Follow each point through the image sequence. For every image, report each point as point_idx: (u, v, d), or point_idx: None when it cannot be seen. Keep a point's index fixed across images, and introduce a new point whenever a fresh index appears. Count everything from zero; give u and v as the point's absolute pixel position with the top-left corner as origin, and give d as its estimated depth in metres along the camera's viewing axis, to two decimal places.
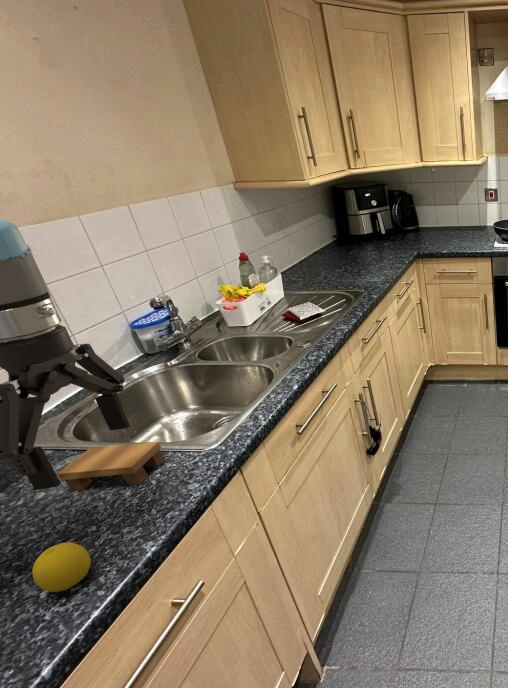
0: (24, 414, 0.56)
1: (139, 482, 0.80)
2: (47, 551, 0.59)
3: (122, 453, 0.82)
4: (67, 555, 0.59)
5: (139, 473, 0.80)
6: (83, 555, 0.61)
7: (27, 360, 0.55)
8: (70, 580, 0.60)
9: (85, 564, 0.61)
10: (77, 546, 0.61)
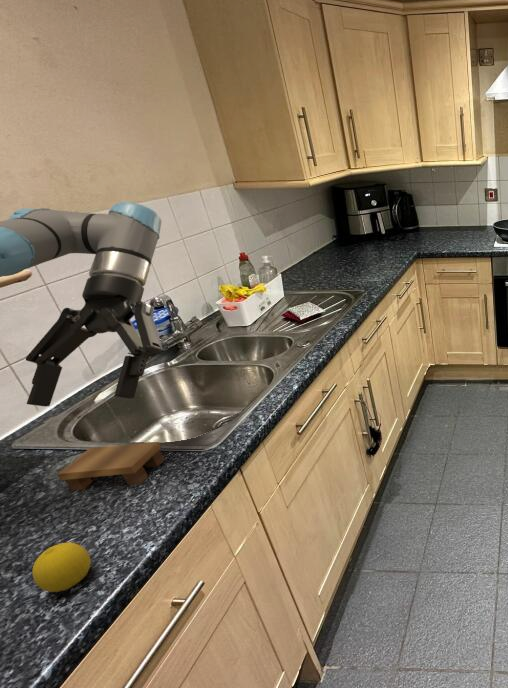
0: (132, 333, 0.70)
1: (139, 482, 0.80)
2: (47, 551, 0.59)
3: (122, 453, 0.82)
4: (67, 555, 0.59)
5: (139, 473, 0.80)
6: (83, 555, 0.61)
7: (140, 299, 0.74)
8: (70, 580, 0.60)
9: (85, 564, 0.61)
10: (77, 546, 0.61)
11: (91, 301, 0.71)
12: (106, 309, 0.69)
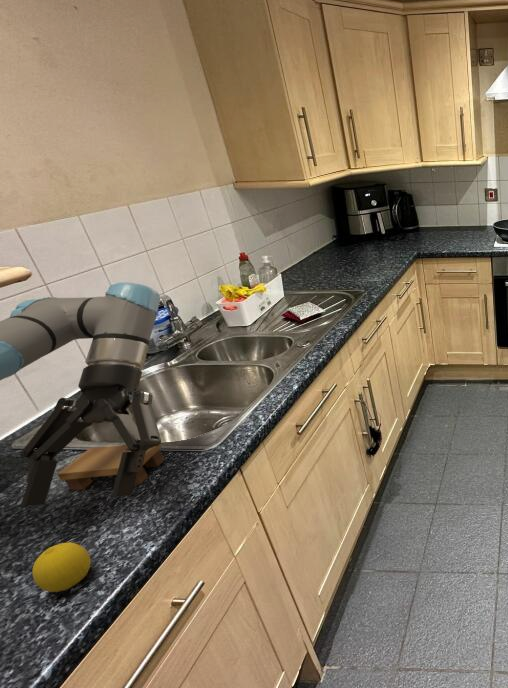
0: (130, 424, 0.68)
1: (139, 482, 0.80)
2: (47, 551, 0.59)
3: None
4: (67, 555, 0.59)
5: (139, 473, 0.80)
6: (83, 555, 0.61)
7: (138, 384, 0.72)
8: (70, 580, 0.60)
9: (85, 564, 0.61)
10: (77, 546, 0.61)
11: (88, 390, 0.69)
12: (103, 400, 0.67)
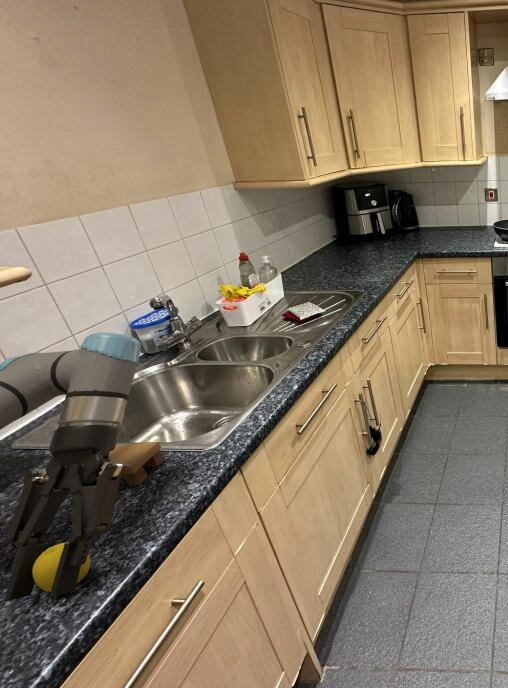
0: (89, 501, 0.62)
1: (139, 482, 0.80)
2: (47, 551, 0.59)
3: (122, 453, 0.82)
4: None
5: (139, 473, 0.80)
6: None
7: (115, 444, 0.67)
8: None
9: (85, 564, 0.61)
10: None
11: (59, 453, 0.64)
12: (75, 467, 0.62)
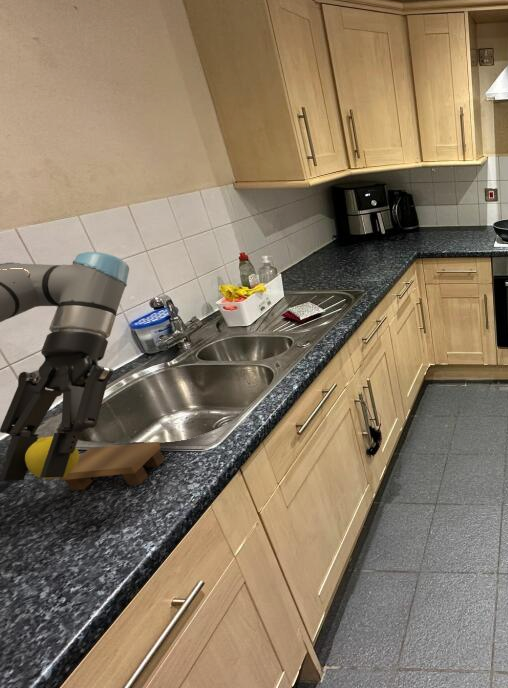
0: (78, 400, 0.67)
1: (139, 482, 0.80)
2: (38, 440, 0.64)
3: (122, 453, 0.82)
4: None
5: (139, 473, 0.80)
6: None
7: (103, 353, 0.72)
8: None
9: (74, 456, 0.66)
10: None
11: (51, 357, 0.69)
12: (65, 368, 0.67)
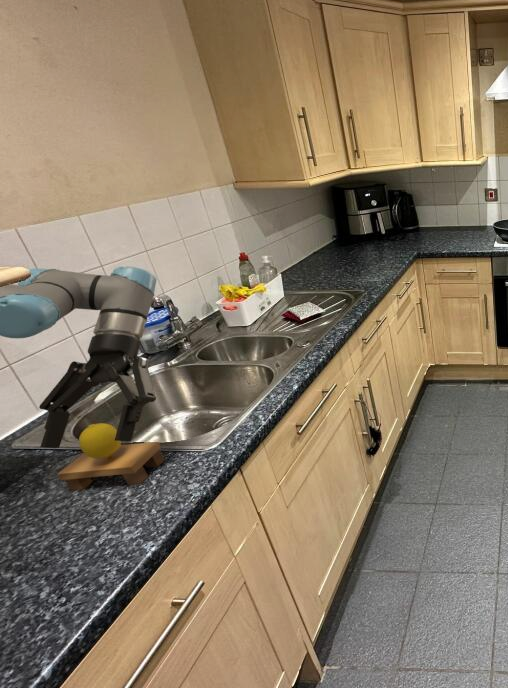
0: (130, 383, 0.81)
1: (139, 482, 0.80)
2: (90, 426, 0.78)
3: (122, 453, 0.82)
4: (105, 430, 0.78)
5: (139, 473, 0.80)
6: None
7: (137, 352, 0.86)
8: (106, 449, 0.79)
9: None
10: (111, 426, 0.80)
11: (95, 355, 0.82)
12: (108, 363, 0.81)
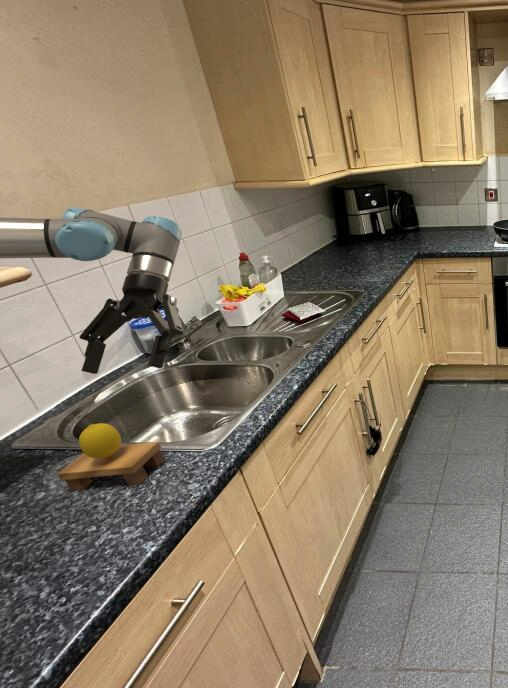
0: (160, 318, 0.90)
1: (139, 482, 0.80)
2: (90, 426, 0.78)
3: (122, 453, 0.82)
4: (105, 430, 0.78)
5: (139, 473, 0.80)
6: (116, 433, 0.80)
7: (165, 293, 0.94)
8: (106, 449, 0.79)
9: (117, 440, 0.80)
10: (111, 426, 0.80)
11: (128, 293, 0.91)
12: (140, 300, 0.89)
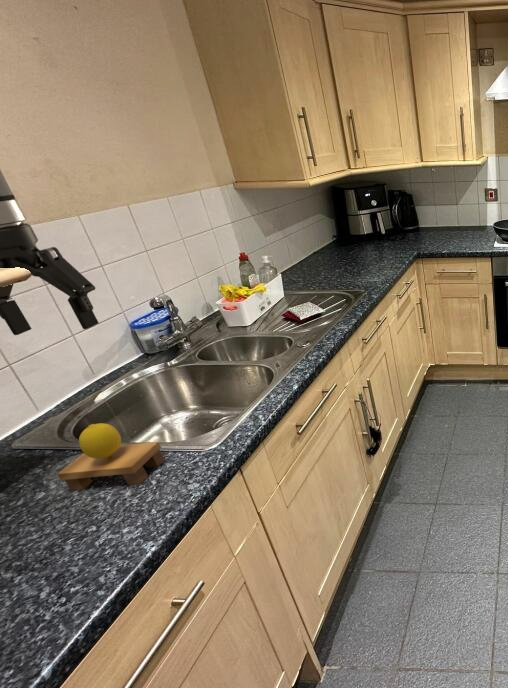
0: (56, 275, 0.79)
1: (139, 482, 0.80)
2: (90, 426, 0.78)
3: (122, 453, 0.82)
4: (105, 430, 0.78)
5: (139, 473, 0.80)
6: (116, 433, 0.80)
7: (35, 238, 0.77)
8: (106, 449, 0.79)
9: (117, 440, 0.80)
10: (111, 426, 0.80)
11: None
12: (14, 260, 0.75)
